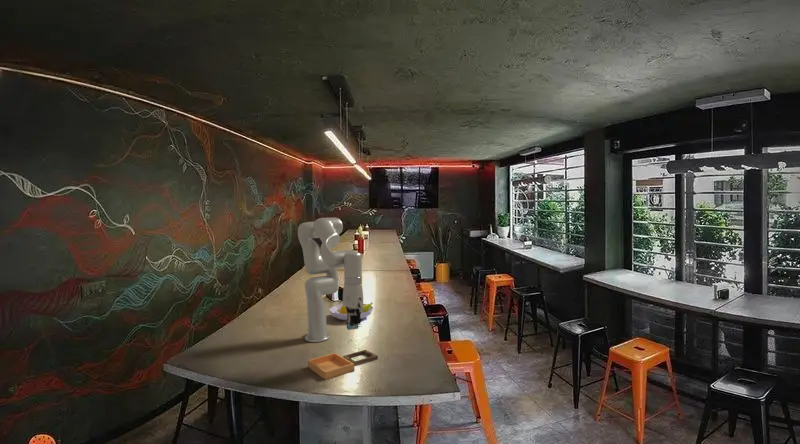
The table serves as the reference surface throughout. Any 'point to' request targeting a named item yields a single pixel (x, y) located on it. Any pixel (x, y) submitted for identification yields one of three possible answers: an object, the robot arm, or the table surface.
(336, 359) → the parts tray
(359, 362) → the component holder
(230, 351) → the table surface
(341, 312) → the fruit bowl
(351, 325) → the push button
